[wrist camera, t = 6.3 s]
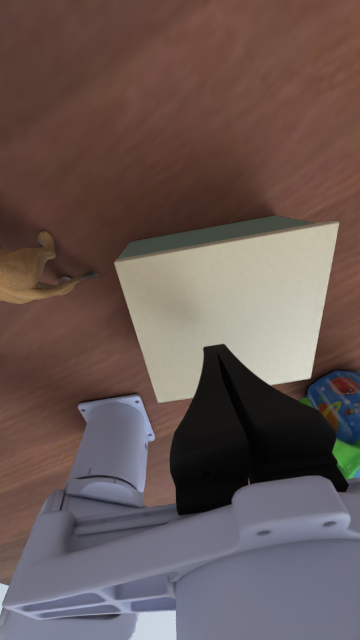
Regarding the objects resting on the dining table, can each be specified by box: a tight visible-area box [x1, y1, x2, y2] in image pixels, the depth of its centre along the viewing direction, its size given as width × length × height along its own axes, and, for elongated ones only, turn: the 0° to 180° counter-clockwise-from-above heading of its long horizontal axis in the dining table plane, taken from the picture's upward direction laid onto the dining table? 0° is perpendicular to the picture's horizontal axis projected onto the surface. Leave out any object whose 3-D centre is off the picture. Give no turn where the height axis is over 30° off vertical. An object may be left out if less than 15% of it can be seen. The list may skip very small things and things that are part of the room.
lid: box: [114, 221, 339, 403], centre depth 16 cm, size 13×13×1 cm
